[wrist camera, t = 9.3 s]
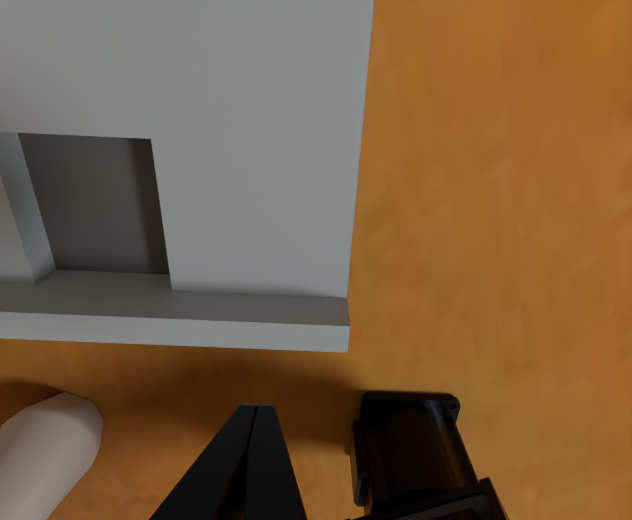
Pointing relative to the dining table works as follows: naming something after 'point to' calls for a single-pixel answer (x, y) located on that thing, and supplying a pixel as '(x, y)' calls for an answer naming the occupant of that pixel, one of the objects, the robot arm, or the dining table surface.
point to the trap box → (180, 170)
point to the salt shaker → (46, 454)
